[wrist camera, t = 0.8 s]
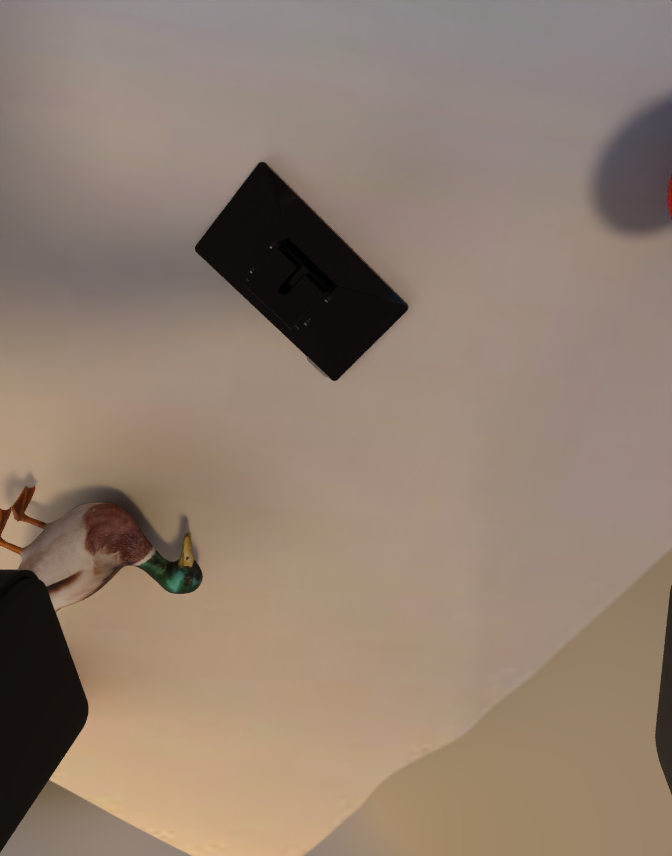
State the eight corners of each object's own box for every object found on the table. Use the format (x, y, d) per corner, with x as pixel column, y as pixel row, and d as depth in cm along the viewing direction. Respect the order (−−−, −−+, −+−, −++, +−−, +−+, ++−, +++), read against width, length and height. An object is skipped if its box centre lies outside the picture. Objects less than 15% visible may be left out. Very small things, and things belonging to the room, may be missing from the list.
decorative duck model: (205, 581, 40) (133, 717, 46) (230, 521, 47) (165, 645, 53) (-8, 487, 38) (-55, 641, 44) (51, 438, 45) (4, 577, 51)
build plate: (410, 306, 37) (406, 323, 33) (333, 382, 40) (320, 407, 36) (263, 159, 35) (239, 158, 31) (192, 251, 38) (161, 261, 34)
